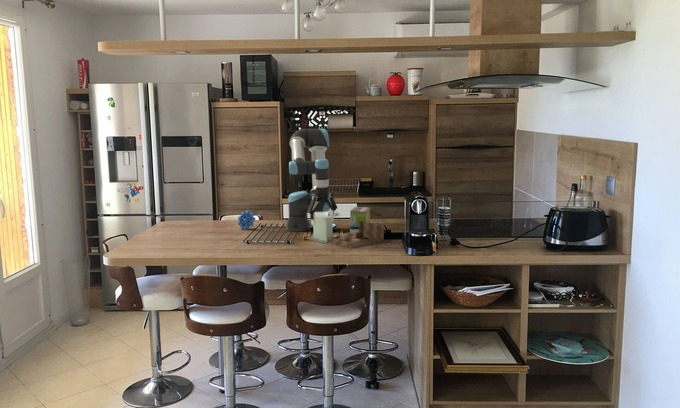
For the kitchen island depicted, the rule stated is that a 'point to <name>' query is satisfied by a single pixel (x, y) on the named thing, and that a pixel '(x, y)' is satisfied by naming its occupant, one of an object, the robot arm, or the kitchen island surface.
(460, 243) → the kitchen island surface
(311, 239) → the mat
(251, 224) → the blue knobby thick disc
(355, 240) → the block
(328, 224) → the tall block
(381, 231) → the rack
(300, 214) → the robot arm
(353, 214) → the tea box
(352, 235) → the offcut short
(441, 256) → the kitchen island surface
